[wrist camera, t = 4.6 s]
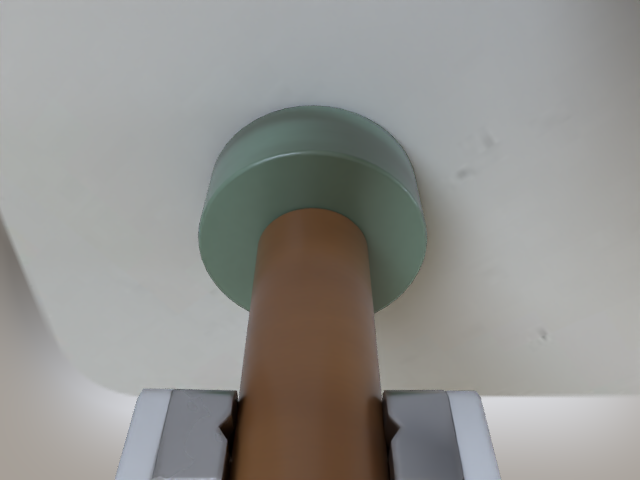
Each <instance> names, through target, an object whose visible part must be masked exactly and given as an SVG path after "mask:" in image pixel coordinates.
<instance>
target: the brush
mask: <svg viewBox="0 0 640 480" xmlns="http://www.w3.org/2000/svg"><path fill="white" fill-rule="evenodd" d="M198 240H199V249H200V254H201V258H202V260H203V263H204V265H205V268H206V270H207V272H208V274H209V275H210V277H211V279H212V280H213V282H214V283H215V284H216V285H217V287H218V288H219V289H220V290H221V291H222V292H223V293H224V294H225V295H226V296H227V297H228V298H229V299H231V300H232V301H233V302H235V303H236V304H237V305H239V306H240V307H242V308H244V309H246V310H247V311H249V320H248V328H247V336H246V344H245V352H244V360H243V368H242V376H241V384H240V392H239V400H238V401H239V403H238V411H237V419H236V427H235V435H234V440H233V448H232V456H231V468H230V475H229V480H389V474H388V464H387V463H388V458H387V447H386V440H385V432H384V421H383V410H382V394H381V384H380V373H379V362H378V352H377V341H376V331H375V320H374V313H376V312H378V311H379V310H381V309H383V308H385V307H386V306H388V305H389V304H390V303H392V302H393V301H395V300H396V299H397V298H398V297H399V296H400V295H401V294H402V293H403V292H404V291H405V290H406V289H407V288H408V287H409V286H410V284H411V283H412V282H413V280H414V279H415V277H416V275H417V274H418V272H419V270H420V267H421V265H422V262H423V260H424V256H425V252H426V246H427V231H426V224H425V219H424V214H423V210H422V205H421V201H420V196H419V192H418V187H417V183H416V178H415V174H414V171H413V167H412V165H411V163H410V161H409V158H408V156H407V155H406V153H405V152H404V150H403V149H402V147H401V146H400V144H399V143H398V142H397V141H396V140H395V139H394V138H393V137H392V136H391V135H390V134H389V133H388V132H387V131H385V130H384V129H383V128H382V127H380V126H379V125H377V124H375V123H374V122H372V121H371V120H369V119H367V118H365V117H362V116H360V115H358V114H356V113H353V112H349V111H346V110H343V109H338V108H333V107H326V106H298V107H293V108H287V109H283V110H279V111H276V112H273V113H270V114H268V115H265V116H263V117H261V118H259V119H257V120H255V121H253V122H252V123H250V124H249V125H247V126H245V127H244V128H243V129H242V130H240V131H239V132H238V133H237V134H236V135H234V137H233V138H232V139H231V140H230V141H229V142H228V143H227V144H226V146H225V147H224V149H223V150H222V152H221V153H220V155H219V157H218V159H217V161H216V163H215V165H214V169H213V172H212V176H211V180H210V184H209V188H208V192H207V196H206V200H205V204H204V208H203V212H202V215H201V219H200V223H199V232H198Z"/></svg>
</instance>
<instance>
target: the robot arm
mask: <svg viewBox="0 0 640 480" xmlns="http://www.w3.org/2000/svg"><path fill="white" fill-rule="evenodd" d="M238 403H239V401H238V395H237V391H234V390H192V389H143V390H142V392H141V393H140V395H139V397H138V399H137V402H136V406H135V409H134V413H133V416H132V420H131V423H130V427H129V430H128V434H127V437H126V441H125V445H124V448H123V452H122V456H121V459H120V462H119V466H118V469H117V473H116V477H115V480H229V475H230V468H231V456H232V448H233V440H234V435H235V427H236V419H237V411H238ZM382 410H383V421H384V432H385V440H386V447H387V458H388V463H387V464H388V474H389V480H501V477H500V473H499V469H498V465H497V461H496V457H495V453H494V449H493V445H492V441H491V437H490V433H489V429H488V425H487V421H486V417H485V413H484V409H483V405H482V401H481V397H480V396H479V394H478V393H477V391H444V390H384V393H383V397H382Z"/></svg>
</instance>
